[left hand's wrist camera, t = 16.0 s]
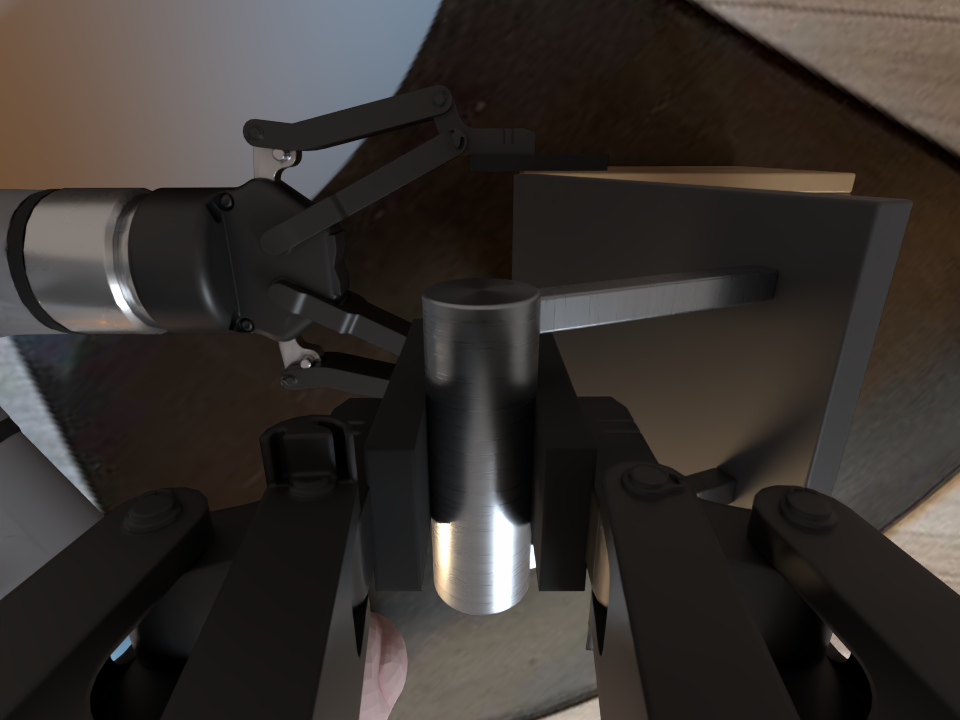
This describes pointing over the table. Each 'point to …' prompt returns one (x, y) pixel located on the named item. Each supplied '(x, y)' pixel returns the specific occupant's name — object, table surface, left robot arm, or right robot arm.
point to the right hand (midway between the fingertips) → (594, 261)
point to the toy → (382, 669)
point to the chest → (727, 177)
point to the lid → (651, 349)
